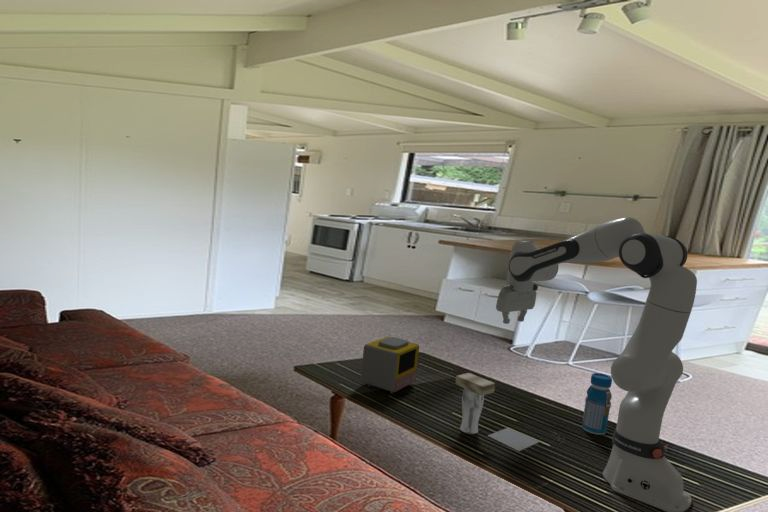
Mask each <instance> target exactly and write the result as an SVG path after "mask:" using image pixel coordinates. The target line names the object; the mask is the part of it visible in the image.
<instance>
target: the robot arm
mask: <svg viewBox="0 0 768 512" xmlns="http://www.w3.org/2000/svg"><path fill="white" fill-rule="evenodd" d="M615 258H619V259H620V262H621V263H622V264H623V265H624V266H625V267H626V268H628V269H629V270H630V271H632V272H634V273H635V274H637V275H638V276H640V277H641V278H643V279H649V282H650V287H649V292H648V295H647V296H646V300H645V304H644V308H643V309H642V312H641V315H640V319H639V321H638V324H637V326H636V328H635V331H634V332H633V334H632V335H631V337H630V339H629V341H628V342H627V343H626V345H625V347H624V349H623V351H621V353H620V354H619V355H618V357H617V358H615V359H614V361H613V362H612V363H611V367H610V377H611V378H612V381H613V383H614V384H615V385H616V386H617V387H618V388H619V389H621V390H623V391H625V392H626V391H627V392H626V394H625V397H623V398H622V400H621V402H620V404H619V409H618V414H617V415H618V416H617V421H616V427H615V428H614V430H613V434H612V438H611V439H612V440H611V447H612V448H611V452H610V455H609V458H608V461H607V464H606V465H605V468H604V469H603V471H602V476H603V478H604V479H605V481H606V482H607V483H609V484H610V487H611V490H613V491H615V492H616V493H618V494H621V495H624V496H627V497H629V498H632V499H634V500H637V501H638V502H642V503H644V504H647V505H648V506H649V505H650V506H651V507H655V508H656V509H657V508H658V509H660V510H663V512H686V511H687V510H688V509H689V508H690V507H691V505H692V495H690V494H689V493H688V492H687V491H684V480H683V479H684V478H683V476H682V475H681V473H680V472H679V471H678V470H677V469H676V467H674V466H673V464H672V463H671V462H670V461H669V460H668V459H667V458H666V456H665V454H666V451H667V447H668V445H667V444H665V445H664V444H663V443H662V441H660V436H661V435H660V434H661V429H662V423H663V420H664V419H663V418H664V414H665V411H666V408H667V405H668V404H669V401H670V399H671V397H672V394H673V391H674V389H675V385H676V384H677V382H678V381H679V380H680V378H681V377H682V375H683V372H684V366H683V362H682V360H681V357H679V356H678V355H677V354H676V353H675V352H673V350H674V349H675V347H676V346H678V344H679V343H680V342H681V341H682V339H683V337H684V334H685V331H686V328H687V326H688V325H687V324H688V322H689V319H690V316H691V313H692V310H693V307H694V302H695V298H696V293H697V284H698V278H697V276H696V275H695V273H694V272H693V271H692V270H690V269H688V268H687V267H684V265H685V263H686V262H687V260H688V249H687V248H686V246H685V245H684V243H683V242H682V241H681V240H679V239H677V238H675V237H672V236H668V235H662V234H659V233H646V231H645V229H644V226H643V225H642V223H641V222H640V221H639V220H638V219H636V218H634V217H632V216H626V217H621V218H616V219H612V220H609V221H606V222H603V223H601V224H598V225H595V226H594V227H591V228H589V229H588V230H585V231H583V232H581V233H579V234H576V235H574V236H572V237H570V238H566V239H564V240H562V241H559V242H557V243H553V244H551V245H548V246H545V247H542V248H540V247H539V246H538V244H537V243H536V242H535V241H534V240H533V241H532V240H518V241H516V242H514V243H513V244H512V247H511V249H510V255H509V260H508V271H507V274H506V280H505V281H506V282H505V285H504V286H502V288H501V289H500V291H499V292H498V295H497V300H496V304H495V310H497V311H496V312H500V313H501V315H502V318H503V321H502V323H503V324H505V325H509V324H510V321H511V319H510V318H509V315H510V312H519V311H520V313H519V315H518V316H517V321H518V322H521V323H522V322H524V320H525V317H526V315H527V312H528V311H529V310H533V309H534V307H535V305H536V301H537V291H538V290H539V284H537V283H536V282H546V281H551V280H553V279H554V278H555V277H556V276H557V275H558V272H559V265H560V264H566V263H581V264H594V263H602V262H606V261H610V260H612V259H615Z"/></svg>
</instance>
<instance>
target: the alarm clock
mask: <svg viewBox="0 0 768 512" xmlns="http://www.w3.org/2000/svg"><path fill="white" fill-rule="evenodd" d="M419 352H420V344H418V343H414V342H411V341H409V340H407V339H403V338H399V337H394V336H386V337H384V338H380V339H376V340H374V341H372V342H368V343H365V344H364V346H363V352H362V360H361V361H362V363H361V371H360V382H361V383H363V384H367V386H368V387H371V386H373V387H374V388H375V387H376V388H378V389H381V390H385V391H388V392H390V394H391V395H392V394H394V393H396V392H398V391H400V390H401V389H404V388H405V387H407V386H409V385H410V384H413V383H414V382H416V378H417V372H418V371H417V369H418V362H419Z"/></svg>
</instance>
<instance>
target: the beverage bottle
mask: <svg viewBox="0 0 768 512" xmlns="http://www.w3.org/2000/svg"><path fill="white" fill-rule="evenodd" d="M612 381H613V379H612V376H611V375H610V376H609V375H608V374H604V373H598V372H593V373H592V374H591V377H590V384H591V385H589V386H588V388H587V389H586V394H587V395H586V397H585V398H584V402H585V403H584V410H583V417H582V423H581V428H582V429H583V430H584V431H585V432H588V433H589V434H594V435H597V436H602V435H605V434H606V433H607V428H608V421H609V415H610V411H611V410H610V409H611V408H612V407H611V406H612V402H611V400H612V397H613V396H612V393H611V390H610V388H611V387H612V383H613V382H612Z"/></svg>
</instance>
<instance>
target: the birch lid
mask: <svg viewBox="0 0 768 512" xmlns="http://www.w3.org/2000/svg"><path fill="white" fill-rule="evenodd" d="M454 385H456V386H459V387H461V388H463V389H464V388H465V389H467V390H470V391H472V392H474V393H477V394H479V395H481V396H483V395H484V396H487V395H489V394H493V393H495V390H496V383H495V382H494V381H491V380H488V379H485V378H483V377H481V376H478V375H475V374H473V373H470V372H466V373H462V374H459V375H455V384H454Z"/></svg>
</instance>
